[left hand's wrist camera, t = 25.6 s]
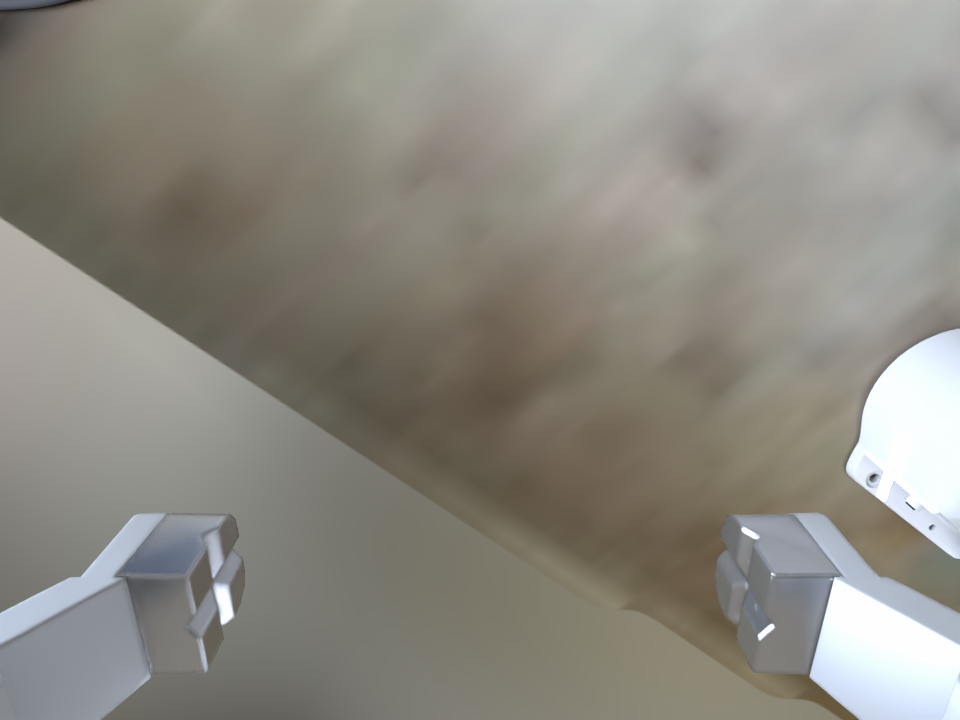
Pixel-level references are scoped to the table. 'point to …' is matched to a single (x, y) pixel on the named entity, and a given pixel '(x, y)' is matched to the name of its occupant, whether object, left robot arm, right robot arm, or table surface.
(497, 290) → the table surface
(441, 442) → the table surface
